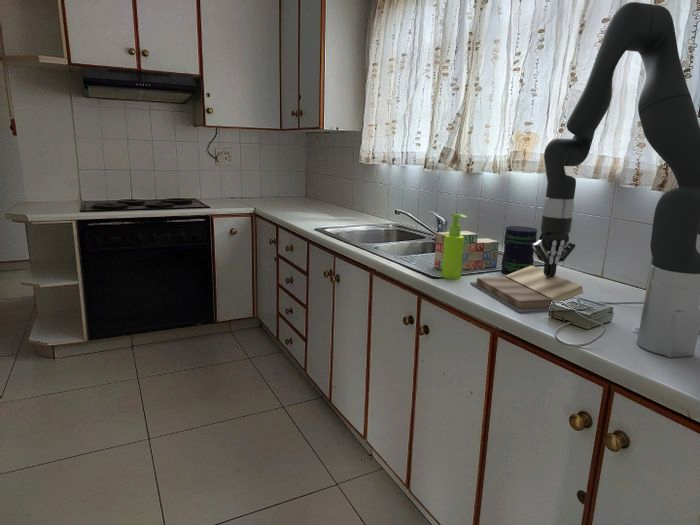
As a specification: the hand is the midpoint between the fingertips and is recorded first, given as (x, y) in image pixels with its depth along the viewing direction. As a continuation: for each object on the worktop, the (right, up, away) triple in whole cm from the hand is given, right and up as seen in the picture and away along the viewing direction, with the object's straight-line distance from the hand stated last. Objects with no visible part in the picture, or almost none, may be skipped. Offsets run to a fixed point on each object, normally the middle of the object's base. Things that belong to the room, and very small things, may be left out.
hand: (549, 276), depth 132 cm
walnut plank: (-11, -6, -2) cm, 13 cm away
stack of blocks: (-16, +2, +30) cm, 34 cm away
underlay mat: (-6, -5, 0) cm, 8 cm away
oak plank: (-2, -3, 0) cm, 4 cm away
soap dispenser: (-24, -1, +17) cm, 29 cm away
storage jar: (-1, 0, +24) cm, 24 cm away
